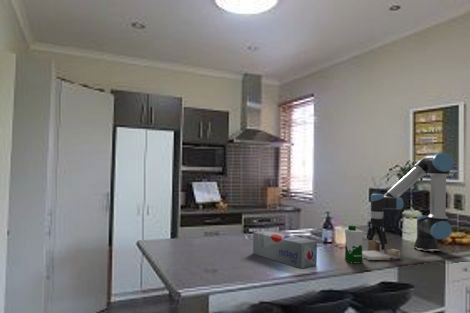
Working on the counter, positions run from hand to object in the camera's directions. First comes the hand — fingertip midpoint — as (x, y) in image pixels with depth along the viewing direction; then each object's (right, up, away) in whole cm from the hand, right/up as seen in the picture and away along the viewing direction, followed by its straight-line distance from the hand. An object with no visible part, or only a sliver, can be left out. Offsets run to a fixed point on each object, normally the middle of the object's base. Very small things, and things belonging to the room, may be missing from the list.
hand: (376, 252), depth 229 cm
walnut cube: (0, 0, 0) cm, 0 cm away
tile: (-7, 0, -13) cm, 15 cm away
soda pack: (-63, +1, -22) cm, 66 cm away
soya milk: (-22, +1, -24) cm, 32 cm away
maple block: (+5, 0, -13) cm, 14 cm away
